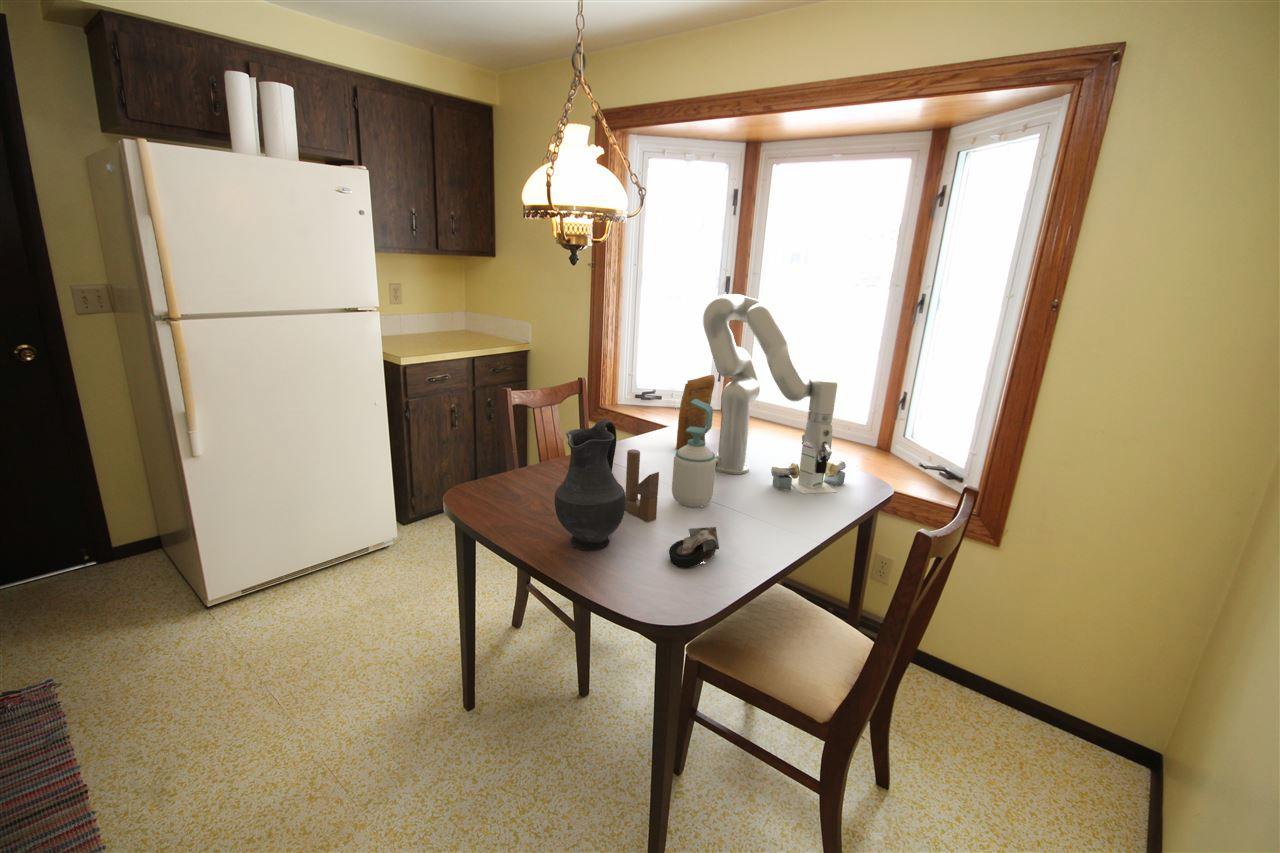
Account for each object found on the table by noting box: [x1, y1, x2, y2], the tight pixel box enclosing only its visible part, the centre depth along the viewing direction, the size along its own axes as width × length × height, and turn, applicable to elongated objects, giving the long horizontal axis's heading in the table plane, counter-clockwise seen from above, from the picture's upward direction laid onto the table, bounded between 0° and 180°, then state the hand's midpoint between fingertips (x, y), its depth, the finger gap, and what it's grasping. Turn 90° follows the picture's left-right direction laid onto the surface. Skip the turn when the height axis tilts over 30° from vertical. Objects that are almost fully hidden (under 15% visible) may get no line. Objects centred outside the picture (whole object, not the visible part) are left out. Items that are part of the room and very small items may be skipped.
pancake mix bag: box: [675, 374, 716, 450], centre depth 213 cm, size 7×19×28 cm, turn 131°
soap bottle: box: [671, 399, 716, 509], centre depth 162 cm, size 12×12×31 cm
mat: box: [791, 477, 837, 495], centre depth 183 cm, size 12×12×1 cm
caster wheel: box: [668, 526, 720, 569], centre depth 133 cm, size 7×11×10 cm
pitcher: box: [554, 419, 626, 552], centre depth 137 cm, size 17×21×30 cm
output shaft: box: [823, 460, 847, 487], centre depth 185 cm, size 8×5×8 cm, turn 131°
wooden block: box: [625, 449, 660, 523], centre depth 154 cm, size 4×11×18 cm, turn 42°
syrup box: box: [798, 442, 825, 489], centre depth 181 cm, size 6×6×14 cm
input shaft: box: [771, 462, 800, 491], centre depth 180 cm, size 8×5×8 cm, turn 101°
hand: (812, 467), depth 181 cm, fingers open, 9 cm apart
